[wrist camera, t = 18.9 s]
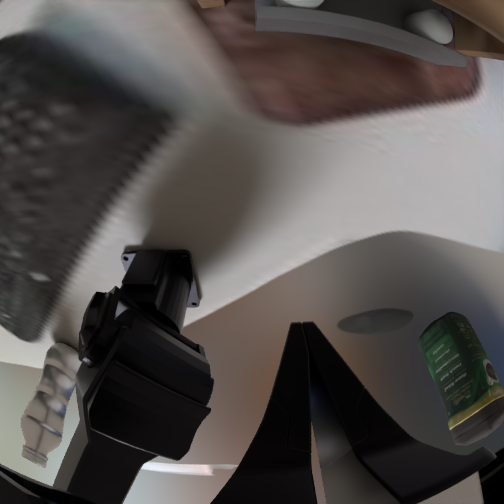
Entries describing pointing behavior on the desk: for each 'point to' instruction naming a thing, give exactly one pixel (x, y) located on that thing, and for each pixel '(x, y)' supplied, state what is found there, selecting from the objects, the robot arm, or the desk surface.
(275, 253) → the desk surface
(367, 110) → the desk surface
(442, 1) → the tan rectangular block
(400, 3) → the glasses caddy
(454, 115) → the desk surface
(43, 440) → the plastic bottle
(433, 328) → the coffee jar
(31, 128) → the desk surface
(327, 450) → the robot arm
